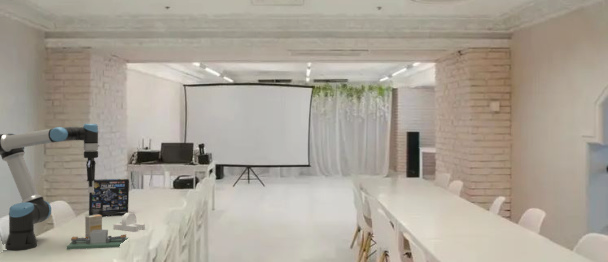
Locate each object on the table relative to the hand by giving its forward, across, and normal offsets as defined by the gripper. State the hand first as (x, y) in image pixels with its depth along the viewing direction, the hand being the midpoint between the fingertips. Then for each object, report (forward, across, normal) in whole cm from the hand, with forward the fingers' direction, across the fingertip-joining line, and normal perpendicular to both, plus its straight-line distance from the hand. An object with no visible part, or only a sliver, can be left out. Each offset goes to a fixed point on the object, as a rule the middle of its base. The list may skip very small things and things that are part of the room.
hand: (91, 192), depth 282 cm
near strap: (+26, -5, +4) cm, 27 cm away
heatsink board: (+29, -5, -5) cm, 30 cm away
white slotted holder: (+29, +34, -16) cm, 48 cm away
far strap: (+26, -5, -14) cm, 30 cm away
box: (+29, +84, +5) cm, 89 cm away
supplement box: (+29, +14, +2) cm, 32 cm away
